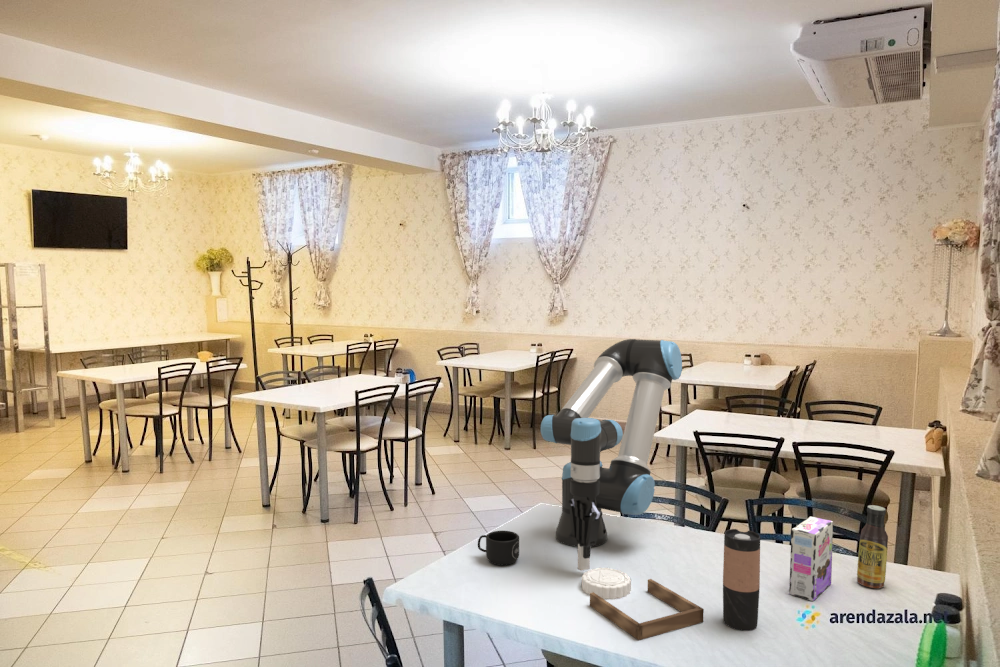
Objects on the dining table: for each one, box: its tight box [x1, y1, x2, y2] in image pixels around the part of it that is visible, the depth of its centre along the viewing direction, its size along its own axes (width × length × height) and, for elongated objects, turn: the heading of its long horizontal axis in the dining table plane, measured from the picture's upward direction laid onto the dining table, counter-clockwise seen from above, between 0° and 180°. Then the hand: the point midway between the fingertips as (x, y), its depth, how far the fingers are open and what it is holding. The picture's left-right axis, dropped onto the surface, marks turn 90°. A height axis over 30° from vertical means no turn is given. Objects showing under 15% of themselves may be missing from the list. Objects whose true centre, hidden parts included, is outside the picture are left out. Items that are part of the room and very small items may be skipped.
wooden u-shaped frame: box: [589, 578, 705, 641], centre depth 156 cm, size 18×18×3 cm
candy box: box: [788, 516, 834, 602], centre depth 169 cm, size 14×6×16 cm, turn 137°
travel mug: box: [722, 528, 761, 632], centre depth 152 cm, size 8×8×20 cm
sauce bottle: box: [856, 504, 889, 590], centre depth 172 cm, size 7×6×20 cm
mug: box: [477, 530, 520, 566], centre depth 187 cm, size 12×9×7 cm
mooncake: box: [581, 567, 632, 600], centre depth 170 cm, size 12×12×4 cm
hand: (583, 568), depth 178 cm, fingers closed
